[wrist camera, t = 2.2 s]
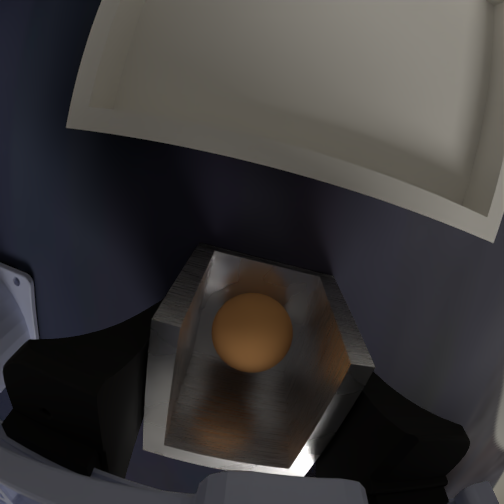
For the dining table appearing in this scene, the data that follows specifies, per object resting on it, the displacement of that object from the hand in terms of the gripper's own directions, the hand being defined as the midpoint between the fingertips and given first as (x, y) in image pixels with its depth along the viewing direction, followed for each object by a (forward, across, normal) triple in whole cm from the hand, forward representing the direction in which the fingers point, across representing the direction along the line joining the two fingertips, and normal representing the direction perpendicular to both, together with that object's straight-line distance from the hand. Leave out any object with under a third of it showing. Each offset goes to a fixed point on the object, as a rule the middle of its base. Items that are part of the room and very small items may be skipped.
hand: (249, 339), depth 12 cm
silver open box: (+2, 0, 0) cm, 2 cm away
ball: (0, 0, -1) cm, 1 cm away
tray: (+2, 0, -12) cm, 13 cm away
